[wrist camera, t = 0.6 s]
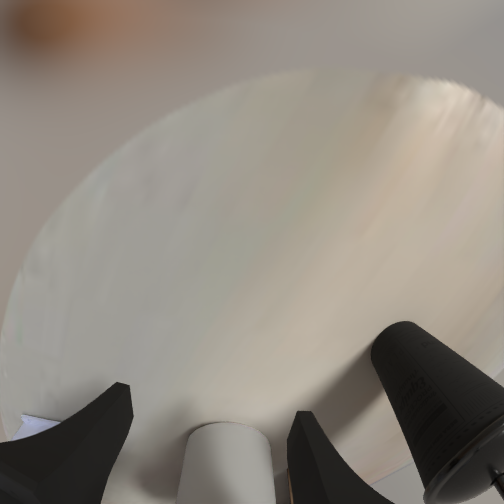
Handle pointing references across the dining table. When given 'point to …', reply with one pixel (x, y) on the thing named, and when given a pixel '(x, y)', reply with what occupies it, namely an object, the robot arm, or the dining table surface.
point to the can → (227, 466)
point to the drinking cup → (443, 413)
